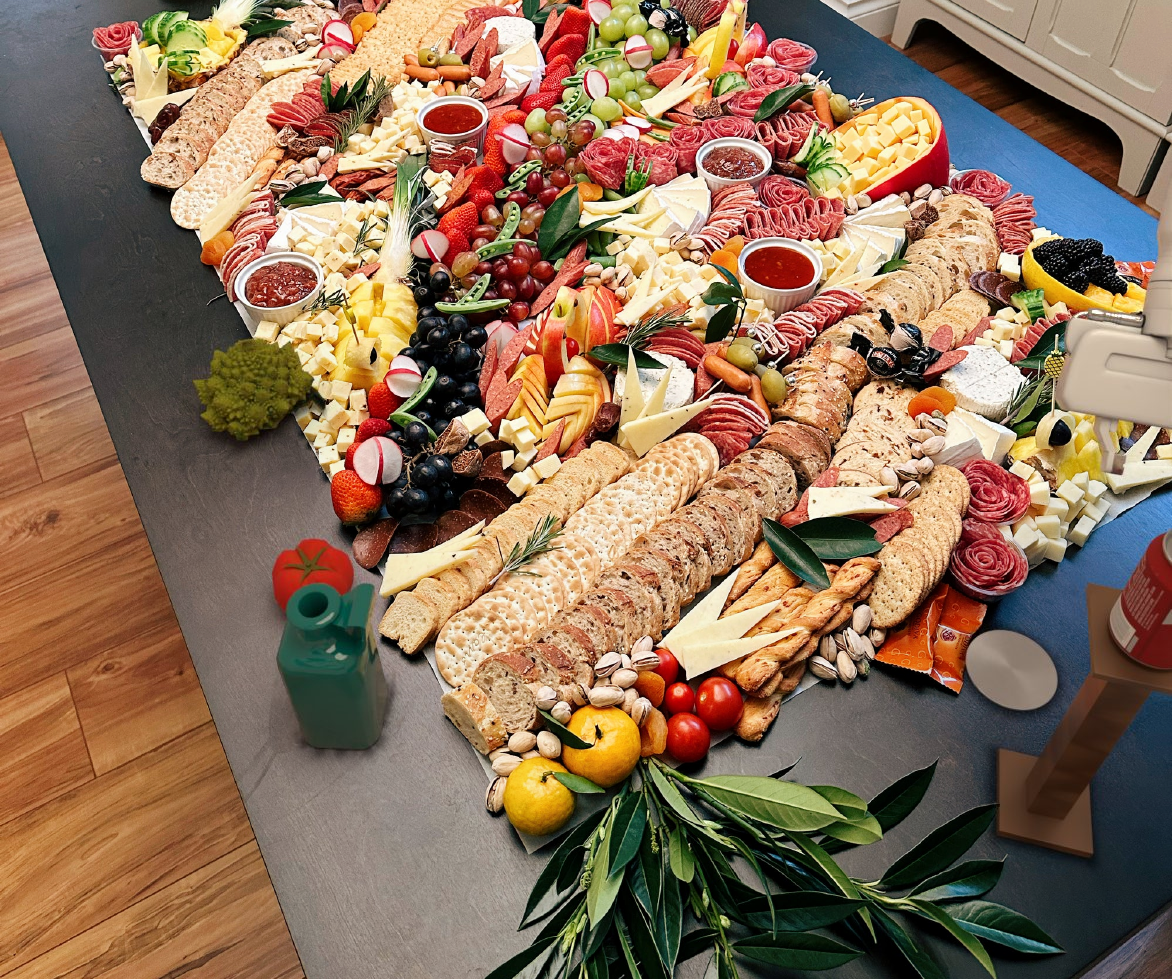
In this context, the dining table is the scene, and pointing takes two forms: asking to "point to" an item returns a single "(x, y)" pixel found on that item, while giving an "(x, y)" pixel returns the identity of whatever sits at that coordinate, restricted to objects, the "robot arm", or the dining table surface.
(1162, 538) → the soda can
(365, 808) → the dining table surface
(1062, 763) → the walnut stand
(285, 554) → the tomato
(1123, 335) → the robot arm
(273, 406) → the vegetable
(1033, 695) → the steel plate
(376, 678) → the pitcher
